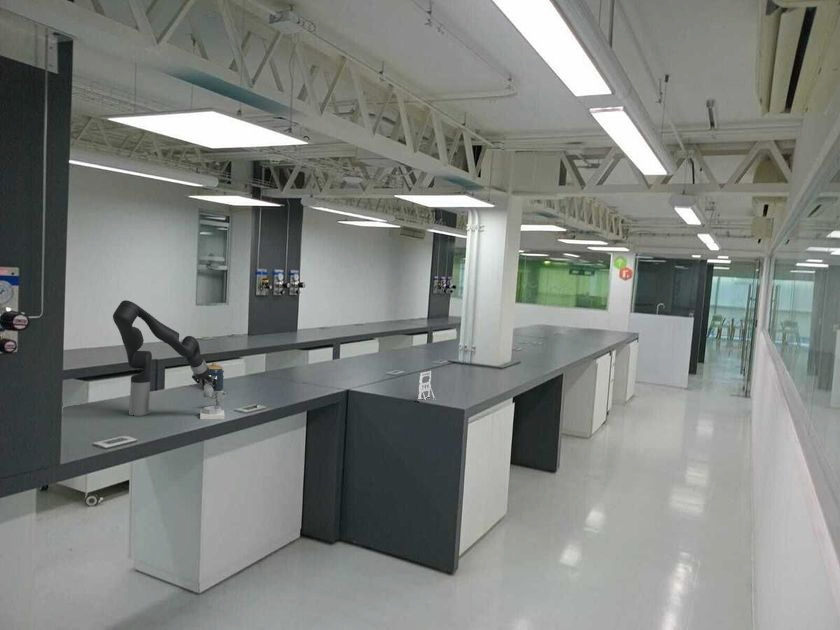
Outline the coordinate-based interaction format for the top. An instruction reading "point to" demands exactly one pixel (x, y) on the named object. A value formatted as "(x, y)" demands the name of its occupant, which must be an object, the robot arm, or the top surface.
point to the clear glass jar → (208, 390)
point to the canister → (217, 374)
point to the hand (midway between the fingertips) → (210, 388)
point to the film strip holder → (424, 385)
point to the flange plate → (212, 413)
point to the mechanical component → (219, 396)
